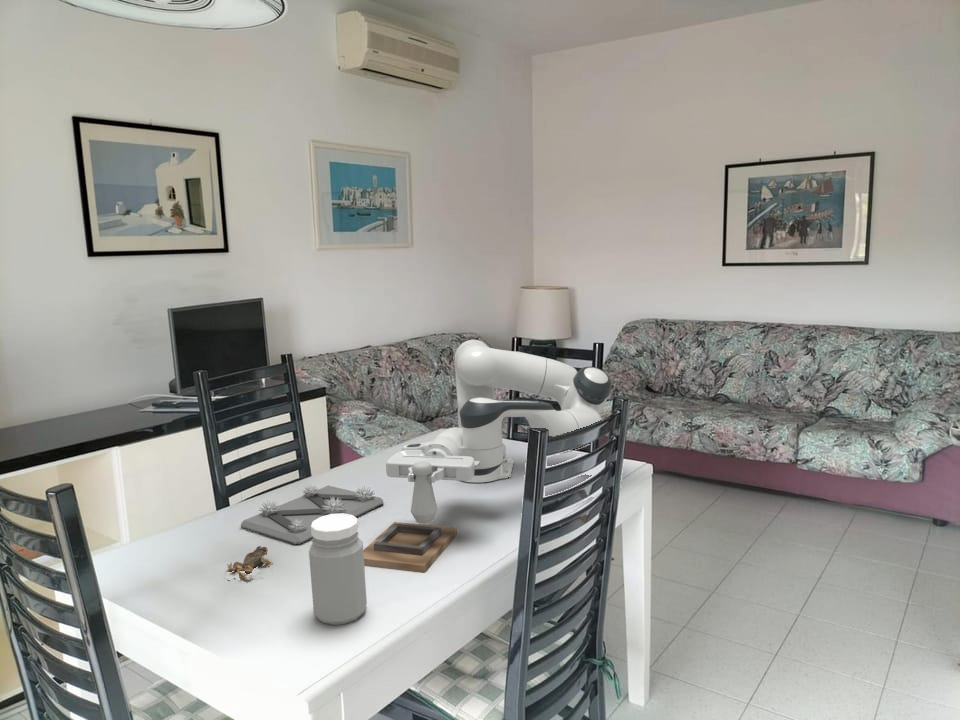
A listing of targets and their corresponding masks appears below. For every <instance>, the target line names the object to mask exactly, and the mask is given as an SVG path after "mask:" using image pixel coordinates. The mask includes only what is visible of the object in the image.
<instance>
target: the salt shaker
mask: <svg viewBox="0 0 960 720" xmlns="http://www.w3.org/2000/svg"><path fill="white" fill-rule="evenodd" d="M412 472H413V474H414V475H415V482H413V492H412V498H411V505H410V513H411V515H412V517H413V518H414V519H415V522H416V523H417V524H428V523H432V522H433V520H434V519H435V517H436V514H437V512H438V505H437V501H436V497H435V492H434V488H433V483H429V482H428V481H427V480H428V479H427V475H429V474H430V473H431V472H432V465H431V464H430V463H429V462H425V461H421V462H416V463H414V464H413V466H412Z"/></svg>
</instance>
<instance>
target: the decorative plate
mask: <svg viewBox="0 0 960 720" xmlns="http://www.w3.org/2000/svg"><path fill="white" fill-rule="evenodd" d="M304 489H305V490H303V491H302V493H303V494H302V496H299V497H297V498H294V499H292V500H289V501H287V502H285V503H282V504H281V505H280V504H277V502H276V501H274V500H273V501H271V500H270V501H269V500H266V501H267V503H266V502H264V501H262V502H263V504H261V505H262V507H259V511H260V513H258V514H256V515H254V516H251V517H248V518H246V519H244V520H242V522H241V524H240V527H241V528H243V529H245V530H248V529H249V531H251V530H252V531H251V532H254V531H255V532H254V533H257V532H258V534H261V535H264V536H267V535H268V537H270V536H271V538H273V537H274V539H277V540H280V539H281V540H280V541H283V540H284V542H286V541H287V543H290V544H293V545H296V544H300V545H302V544H304V543H306V542H308V541H310V540H312V539H313V536H312V534H311V525H312V522H313V521H314V520H316V519H318V518H320V517H322V516H326V515H329V514H339V513H343V514H350V515H353V516H354V517H356V518H357V517H359V516H360V517H361V516H362V515H364V514H367V513H368V512H370V511H372V510H374V509H376V508H378V507H380V506H382V505H383V504H384V503H385V502H384V499H383V498H381V497H380V496H374V495H375V494H376V492H375V493H374V490H372V491H371V488H370V486H369V487H368V486H367V488H366V487H365V485H363V486H361V488H360V489H359V487H357V489H356V491H353V490H349V489H345V488H340V487H336V486H331V485H326V486H323V487H321V488H319V487H316V485H312V484H309V485H308V486H307V485H306V486H305V487H304ZM301 543H302V544H301Z"/></svg>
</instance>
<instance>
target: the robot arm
mask: <svg viewBox="0 0 960 720" xmlns="http://www.w3.org/2000/svg"><path fill="white" fill-rule="evenodd" d="M454 371H455V387H456V401H457V403H456V404H457V426H458V427H456V426H454V427H449V428H446V429H444V430H441V432H439V433H438V434H437V435H435V437H434V438H433V439H432V440H430V441H429V440H428V441H425V442H421V443H413V444H405V445H403V446H402V450H400V451H397V452H395V453H394V454H392V455H391V456H390V457H389V458H388V459H387V460H386V461H385V472H386V476H387V477H388V478H403V479H407V481H408V483H414V482H415V475H414V474H413V472H412V466H413V464H414V463H416V462H421V461H425V462H429V463H430V464H431V465H432V472H431V473H430V474H429V475H427V479H428V480H427V481H428V482H429V483H432V484H435V483H436V481H437V482H438V481H441V480H442V481H462V482H466V483H489V482H494V481H497V480H502V479H508V477H509V478H511V477H512V473H511V472H513V469H512V468H514V465H513V463H514V464H515V461H514V460H515V459H513V458H510V457H507V447H506V444H504V442H503V432H502V431H503V430H502V429H503V427H502V424H503V420H504V418H525V419H526V421H527V423H528V425H529V426H530V429H531V428H546V429H548V430H549V435H550V436H556V435H560V434H563V433H567V432H571V431H574V430H576V429H580V428H583V427H586V426H589V425H591V424H593V423H595V422H598V421H600V420H602V421H603V418H602V417H601V416H602V414H603V413H604V408H605V406H606V403H607V399H608V397H609V396H610V394H611V390H612V380H611V377H610V376H609V375H608V373H606V371H605V370H603V369H601V368H599V367H595V366H583V367H581V368H580V369H579V370H577V369H576V368H575V367H573V366H571V365H569V364H567V363H565V362H562V361H560V360H559V361H558V360H556V359H553V358H547V357H544V356H539V355H535V354H530V353H526V352H521V351H514V350H513V351H512V350H507V349H506V350H505V349H498V348H493V347H489V346H488V345H487V344H486V343H485V342H483V341H481V340H478V339H469V340H466V341H464V342H462V343H461V344H460V345H459V346H458V347H457V348H456V350H455V354H454ZM495 389H504V390H512V391H517V392H520V393H526V394H531V395H535V396H540V397H547V398H552V399H553V400H555V401H556V402H557V403H558V405H557V406H556V407H555V408H554V407H553V405H552V404H551V403H549V402H545V401H539V400H527V399H496V392H495V391H496V390H495ZM588 446H591V444H587V445H585V446H583V447H581V448H578V449H575V450H570V451H566V452H563V453H560V454H567V453H570V452H574V451H578V450H580V449H584V448H586V447H588Z"/></svg>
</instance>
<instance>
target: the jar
mask: <svg viewBox="0 0 960 720" xmlns="http://www.w3.org/2000/svg"><path fill="white" fill-rule="evenodd" d="M358 523H359V522H358V518H357V517H354V516H353V515H350V514H343V513H339V514H329V515H326V516H322V517H320V518H318V519H316V520H314V521H313V522H312V525H311V534H312V536H313V538H312V539H311V544H310V546H309V550H308V558H309V569H310V570H309V571H310V572H309V573H310V582H311V593H312V594H311V595H312V596H311V597H312V607H313V614H314V616H315V617H317V618H318V619H319V621H321V622H322V623H324V624H328V625H331V626H335V625H345V624H349V623H351V622H354V621H356V620H357V619H358V618H360V617H361V616H362V615H363V614H364V612H366V609H367V604H368V602H367V601H368V600H367V588H366V584H367V583H366V572H365V571H366V570H365V565H364V553H363V550H364V541H362V540H361V538H360V537H359V531H358V530H359V529H358V528H359V524H358Z"/></svg>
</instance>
